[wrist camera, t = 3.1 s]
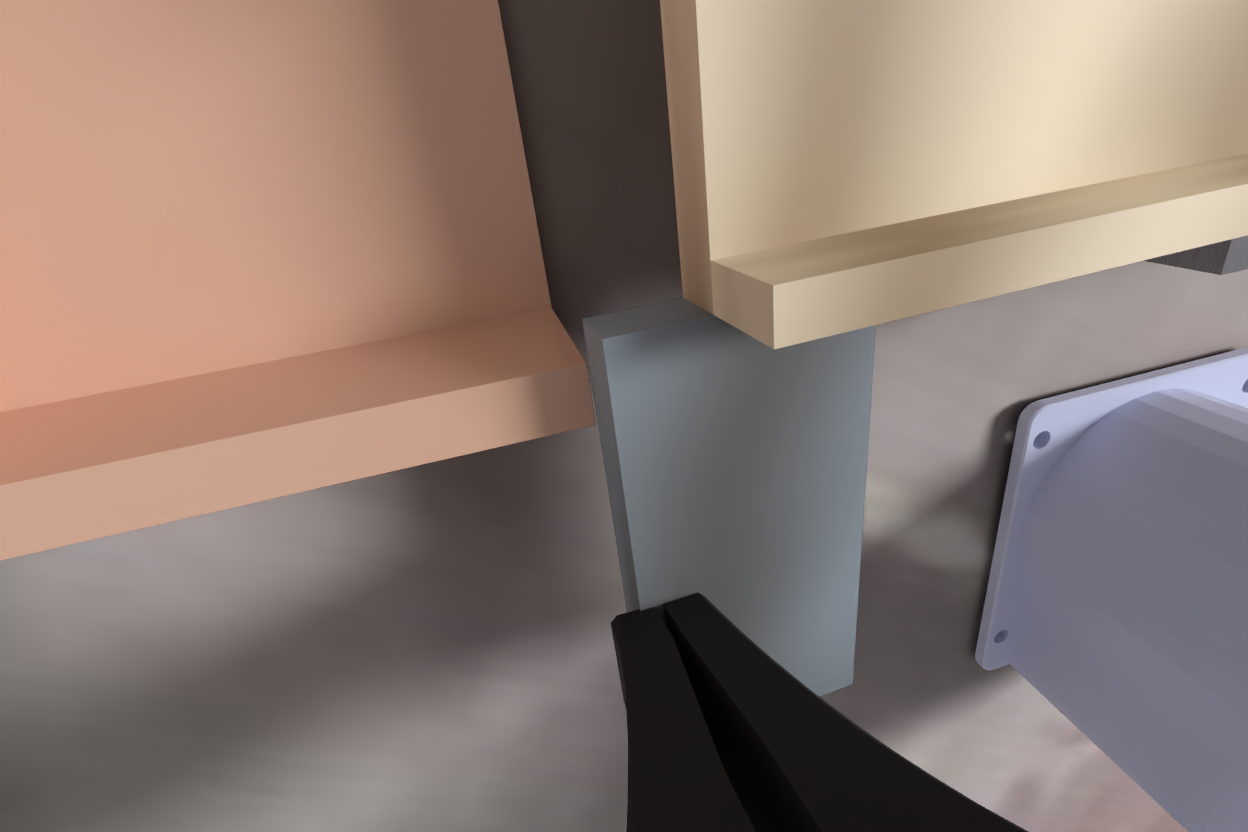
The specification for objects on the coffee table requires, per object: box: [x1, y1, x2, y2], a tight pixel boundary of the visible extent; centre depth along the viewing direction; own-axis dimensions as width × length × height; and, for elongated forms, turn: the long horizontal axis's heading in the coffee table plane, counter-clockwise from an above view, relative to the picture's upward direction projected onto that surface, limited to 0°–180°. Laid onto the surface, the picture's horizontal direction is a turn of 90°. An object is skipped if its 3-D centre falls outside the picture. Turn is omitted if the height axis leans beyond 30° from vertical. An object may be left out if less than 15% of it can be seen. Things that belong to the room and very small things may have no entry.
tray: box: [0, 0, 596, 560], centre depth 8 cm, size 10×11×4 cm
